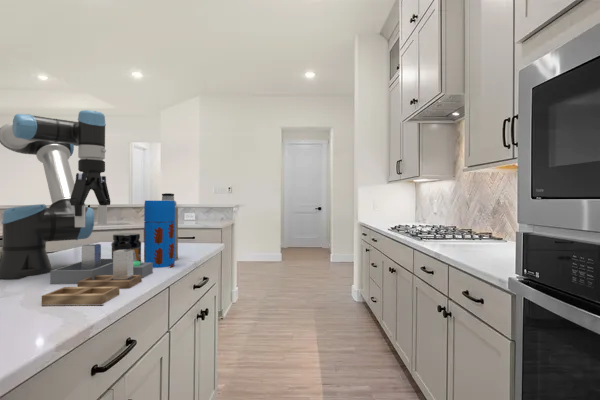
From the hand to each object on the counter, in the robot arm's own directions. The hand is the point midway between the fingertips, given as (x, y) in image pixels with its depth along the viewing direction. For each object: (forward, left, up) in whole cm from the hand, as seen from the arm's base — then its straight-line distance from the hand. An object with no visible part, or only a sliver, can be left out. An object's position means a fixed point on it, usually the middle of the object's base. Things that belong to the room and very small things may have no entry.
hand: (91, 225), depth 118 cm
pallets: (+12, -20, -17) cm, 29 cm away
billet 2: (+15, -12, -16) cm, 26 cm away
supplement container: (+1, +24, -17) cm, 30 cm away
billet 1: (0, 0, -16) cm, 16 cm away
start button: (+13, +1, -15) cm, 20 cm away
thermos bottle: (+13, +36, -17) cm, 42 cm away
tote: (0, 0, -17) cm, 17 cm away
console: (+13, +1, -17) cm, 21 cm away
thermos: (+15, +20, -17) cm, 30 cm away
